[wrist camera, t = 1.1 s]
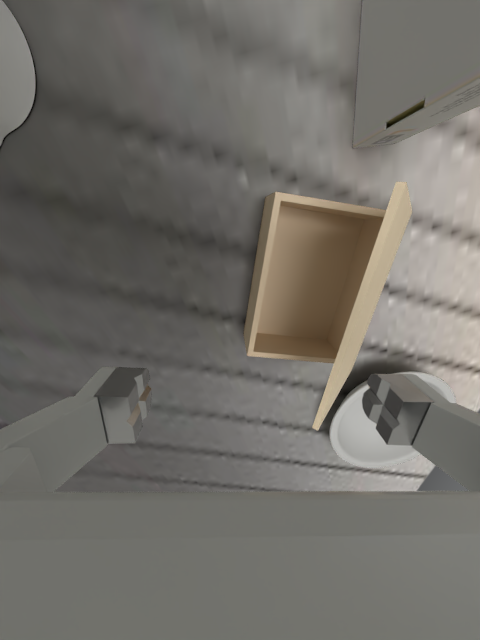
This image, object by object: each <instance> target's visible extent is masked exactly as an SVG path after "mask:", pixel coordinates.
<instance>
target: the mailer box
mask: <svg viewBox="0 0 480 640" xmlns="http://www.w3.org/2000/svg"><path fill="white" fill-rule="evenodd" d="M385 213H386V210H382V209H376V208H370V207H364V206H358V205H352V204H346V203H340V202H334V201H328V200H322V199H316V198H310V197H304V196H298V195H292V194H286V193H280V192H274V193H272V194H271V195H269V196H267V197H265V202H264V208H263V215H262V221H261V227H260V233H259V240H258V246H257V252H256V258H255V265H254V271H253V277H252V283H251V290H250V296H249V302H248V308H247V315H246V321H245V327H244V333H243V334H244V340H245V346H246V352H247V356H255V357H266V358H278V359H289V360H301V361H312V362H324V363H334V362H335V359H336V357H337V354H338V351H339V348H340V345H341V342H342V339H343V336H344V333H345V330H346V327H347V324H348V321H349V319H350V316H351V313H352V310H353V307H354V304H355V301H356V298H357V295H358V292H359V289H360V286H361V283H362V281H363V278H364V275H365V272H366V269H367V266H368V263H369V260H370V257H371V254H372V251H373V248H374V245H375V243H376V240H377V237H378V234H379V231H380V228H381V225H382V222H383V219H384V216H385Z"/></svg>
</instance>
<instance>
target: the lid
mask: <svg viewBox="0 0 480 640" xmlns="http://www.w3.org/2000/svg"><path fill="white" fill-rule="evenodd" d="M411 213H412V208H411V203H410V198H409V192H408V187H407V182H396V184H395V187H394V190H393V193H392V196H391V199H390V202H389V205H388V207H387V210H386V213H385V216H384V219H383V222H382V225H381V228H380V231H379V234H378V237H377V240H376V243H375V245H374V248H373V251H372V254H371V257H370V260H369V263H368V266H367V269H366V272H365V275H364V278H363V281H362V283H361V286H360V289H359V292H358V295H357V298H356V301H355V304H354V307H353V310H352V313H351V316H350V319H349V321H348V324H347V327H346V330H345V333H344V336H343V339H342V342H341V345H340V348H339V351H338V354H337V357H336V359H335V362H334V365H333V368H332V371H331V374H330V377H329V380H328V383H327V386H326V389H325V392H324V395H323V397H322V400H321V403H320V406H319V409H318V412H317V415H316V418H315V421H314V424H313V427H312V428H314V429H316V430H317V431H318V430H319V428H320V426H321V424H322V422H323V421H324V419H325V417H326V415H327V413H328V412H329V410H330V408H331V406H332V404H333V403H334V401H335V399H336V397H337V395H338V394H339V392H340V390H341V388H342V387H343V385H344V383H345V381H346V379H347V378H348V376H349V374H350V372H351V370H352V368H353V366H354V363H355V360H356V358H357V355H358V353H359V350H360V347H361V345H362V342H363V339H364V337H365V334H366V332H367V329H368V326H369V324H370V321H371V318H372V316H373V313H374V311H375V308H376V305H377V303H378V300H379V297H380V295H381V292H382V290H383V287H384V284H385V282H386V279H387V276H388V274H389V271H390V269H391V266H392V263H393V261H394V258H395V255H396V253H397V250H398V248H399V245H400V242H401V240H402V237H403V234H404V232H405V229H406V226H407V224H408V221H409V219H410V216H411Z"/></svg>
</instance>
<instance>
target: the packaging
mask: <svg viewBox="0 0 480 640" xmlns="http://www.w3.org/2000/svg"><path fill="white" fill-rule="evenodd" d="M478 106H480V0H362V11H361V26H360V42H359V57H358V72H357V87H356V102H355V117H354V133H353V146H352V148H353V149H354V148H363V147H371V146H380V145H388V144H395V143H397V142H399V141H402V140H404V139H406V138H408V137H411V136H413V135H415V134H417V133H420V132H422V131H424V130H426V129H429V128H431V127H433V126H435V125H437V124H440V123H442V122H444V121H446V120H449V119H451V118H453V117H455V116H458V115H460V114H462V113H464V112H467V111H469V110H471V109H473V108H476V107H478Z"/></svg>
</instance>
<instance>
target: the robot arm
mask: <svg viewBox="0 0 480 640" xmlns="http://www.w3.org/2000/svg"><path fill="white" fill-rule="evenodd" d="M34 96H35V70H34V65H33V60H32V56H31V53H30V49H29V47H28V44H27V41H26V39H25V36H24V34H23V32H22V30H21V28H20V26H19V24H18V23H17V21H16V19H15V18H14V16H13V14H12V13H11V11H10V10H9V9H8V7H7V6H6V5H5V3H4V2H3V1H2V0H0V146H1V144H2V141H3V139H4V137H5V136H6V135H7V134H8V133H10V132H11V131H13V130H14V129H16V128H17V127H19V126H20V125H21V124H22V123H23V122H24V120H25V119H26V118H27V116H28V114H29V112H30V110H31V108H32V105H33V101H34ZM149 380H150V374H149V370H148V369H147V368H127V367H102V368H100V369H99V370H98V372H97V373H96V374H95V375H94V376H93V377H92V378H91V379H90V380H89V381H88V382H87V383H86V385H85V386H84V387H83V388H82V389H81V390H80V391H79V392H78V393H77V394H76V395H75V397H68V398H65V399H63V400H61V401H59V402H57V403H55V404H53V405H51V406H49V407H47V408H44V409H42V410H40V411H38V412H36V413H34V414H32V415H30V416H28V417H26V418H23V419H21V420H19V421H17V422H15V423H13V424H11V425H9V426H7V427H5V428H2V429H0V640H480V414H479V413H477V412H474V411H472V410H470V409H467V408H465V407H463V406H461V405H458V404H456V403H450V402H449V401H448V400H447V399H445V398H444V397H443V396H442V395H440V394H439V393H438V392H437V391H435V390H434V389H433V388H432V387H430V386H429V385H428V384H427V383H426V382H424V381H423V380H422V379H421V378H419V377H418V376H417V375H414V374H371V375H370V376H369V378H368V381H367V385H368V387H369V389H368V390H367V391H365V392H364V394H363V398H362V406H363V410H364V412H365V414H366V416H367V417H368V419H370V420H371V421H373V422H374V423H376V430H377V431H378V433H379V434H380V436H381V437H382V438H383V440H384V441H385V443H386V444H387V445H404V446H412V448H414V449H415V450H416V451H418V452H419V453H420V454H422V455H423V456H424V457H426V458H427V459H428V460H430V461H431V462H432V463H433V464H435V465H436V466H438V467H439V468H440V469H441V470H443V471H444V472H445V473H447V474H448V475H449V476H451V477H452V478H453V479H455V480H456V481H457V482H459V483H460V484H461V485H462V486H464V487H465V488H466V489H468V490H469V491H274V492H54V491H55V490H56V489H57V488H59V487H60V486H61V485H62V484H63V483H64V482H65V481H67V480H68V479H69V478H70V477H71V476H72V475H74V474H75V473H76V472H77V471H78V470H79V469H81V468H82V467H83V466H84V465H85V464H86V463H87V462H89V461H90V460H91V459H92V458H93V457H94V456H96V455H97V454H98V453H99V452H100V451H101V450H103V449H104V448H105V447H106V446H107V445H108V444H112V443H135V442H136V440H137V438H138V436H139V433H140V431H141V429H142V427H143V425H142V419H144V418H145V417H147V415H148V413H149V410H150V407H151V402H152V391H151V388H150V387H149V386H148V385H147V384H148V382H149Z"/></svg>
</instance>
